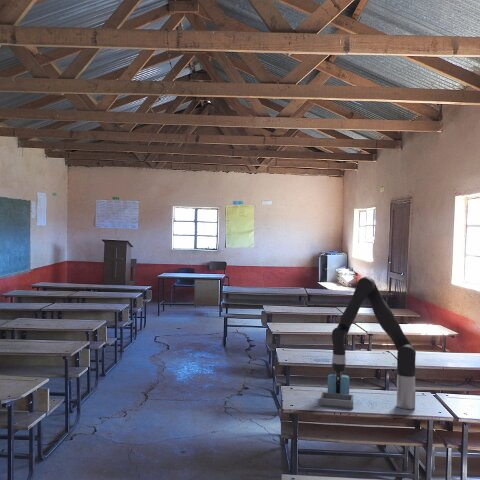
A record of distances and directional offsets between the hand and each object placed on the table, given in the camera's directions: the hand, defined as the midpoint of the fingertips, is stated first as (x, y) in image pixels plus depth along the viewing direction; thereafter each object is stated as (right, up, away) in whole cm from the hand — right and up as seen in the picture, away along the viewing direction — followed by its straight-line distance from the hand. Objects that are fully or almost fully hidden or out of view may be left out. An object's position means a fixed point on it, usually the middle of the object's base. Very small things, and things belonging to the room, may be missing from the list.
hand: (338, 391), depth 284 cm
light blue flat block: (0, -3, 0) cm, 3 cm away
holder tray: (-3, -3, -13) cm, 13 cm away
